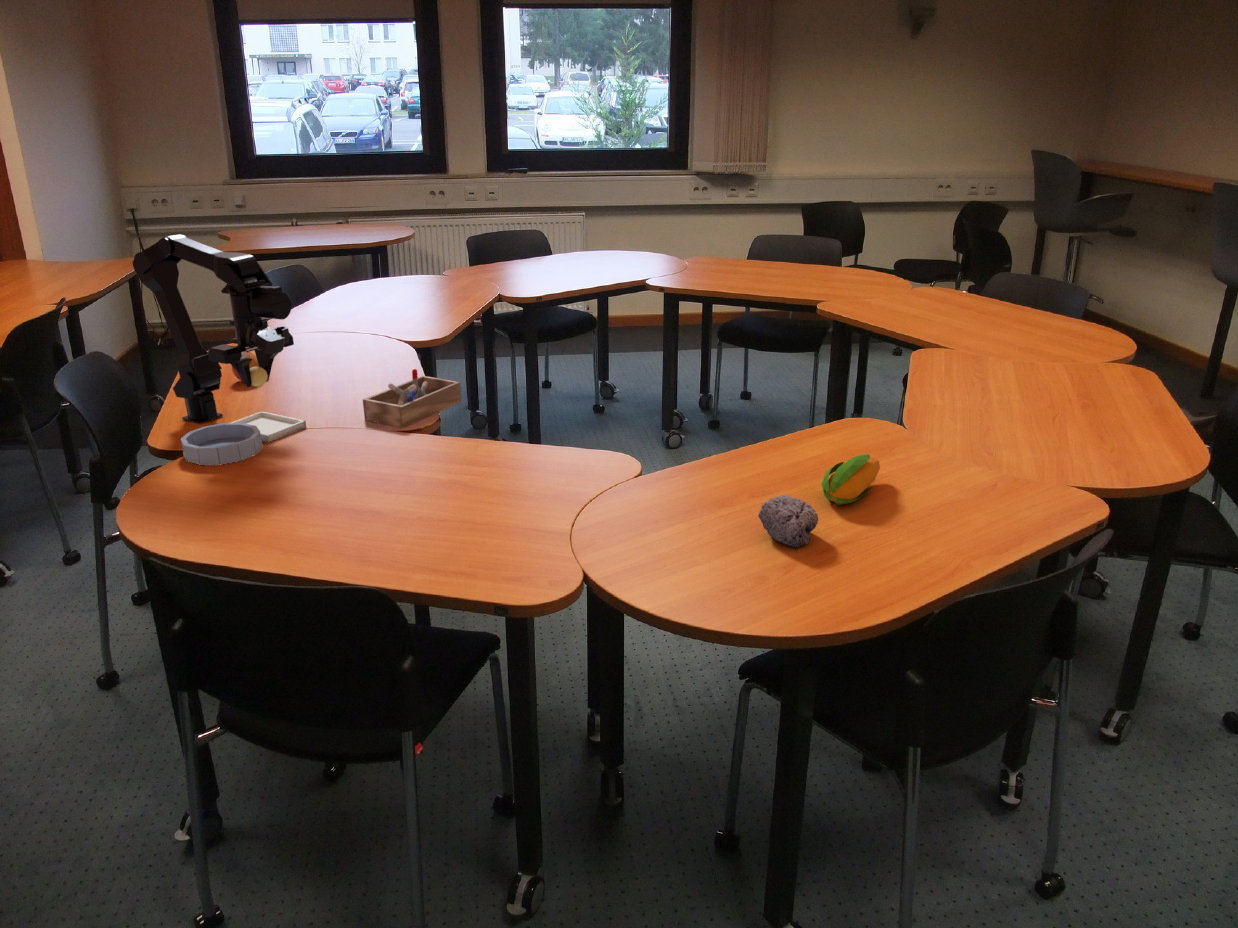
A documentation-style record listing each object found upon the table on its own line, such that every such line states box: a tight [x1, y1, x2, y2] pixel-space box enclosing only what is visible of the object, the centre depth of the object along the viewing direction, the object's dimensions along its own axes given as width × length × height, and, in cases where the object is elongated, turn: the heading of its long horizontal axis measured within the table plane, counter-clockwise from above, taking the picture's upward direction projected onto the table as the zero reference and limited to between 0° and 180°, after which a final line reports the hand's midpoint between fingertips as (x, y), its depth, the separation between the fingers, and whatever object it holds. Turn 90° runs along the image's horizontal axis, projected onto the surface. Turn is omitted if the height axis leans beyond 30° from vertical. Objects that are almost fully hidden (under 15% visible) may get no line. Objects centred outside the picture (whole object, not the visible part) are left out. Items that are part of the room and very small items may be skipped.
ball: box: [250, 366, 268, 387], centre depth 200 cm, size 4×4×4 cm
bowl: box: [180, 422, 264, 466], centre depth 191 cm, size 15×15×4 cm
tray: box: [230, 411, 307, 443], centre depth 204 cm, size 14×11×2 cm
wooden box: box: [362, 375, 462, 429], centre depth 216 cm, size 12×22×5 cm, turn 152°
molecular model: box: [387, 368, 428, 405], centre depth 215 cm, size 18×8×10 cm, turn 174°
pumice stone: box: [757, 494, 819, 549], centre depth 154 cm, size 10×8×10 cm
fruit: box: [231, 351, 259, 383], centre depth 237 cm, size 8×8×8 cm
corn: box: [820, 453, 881, 506], centre depth 171 cm, size 7×8×20 cm
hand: (257, 384), depth 200 cm, fingers closed on ball, 4 cm apart
